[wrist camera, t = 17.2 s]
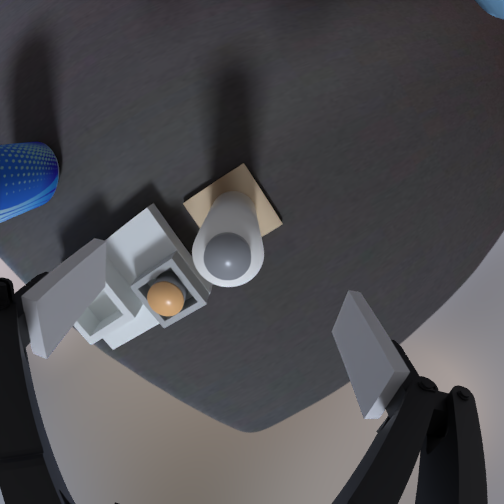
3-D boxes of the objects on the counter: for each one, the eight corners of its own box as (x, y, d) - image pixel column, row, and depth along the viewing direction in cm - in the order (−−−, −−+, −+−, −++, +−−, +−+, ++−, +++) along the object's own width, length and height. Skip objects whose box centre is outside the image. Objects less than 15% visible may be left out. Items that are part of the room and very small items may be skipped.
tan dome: (173, 264, 33) (167, 276, 30) (195, 292, 34) (191, 305, 32) (147, 282, 34) (139, 294, 31) (168, 308, 35) (162, 322, 32)
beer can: (11, 171, 31) (-73, 195, 16) (43, 127, 30) (-47, 133, 15) (39, 216, 34) (-42, 258, 19) (75, 175, 32) (-14, 201, 17)
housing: (153, 203, 34) (136, 214, 28) (212, 284, 37) (207, 308, 32) (65, 274, 37) (43, 293, 31) (118, 339, 40) (104, 365, 35)
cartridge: (213, 188, 33) (193, 217, 20) (259, 194, 33) (270, 227, 20) (208, 232, 35) (187, 286, 21) (252, 238, 35) (258, 296, 22)
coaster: (243, 162, 33) (243, 163, 32) (282, 222, 35) (282, 224, 34) (184, 202, 34) (182, 203, 33) (223, 258, 36) (223, 260, 36)
